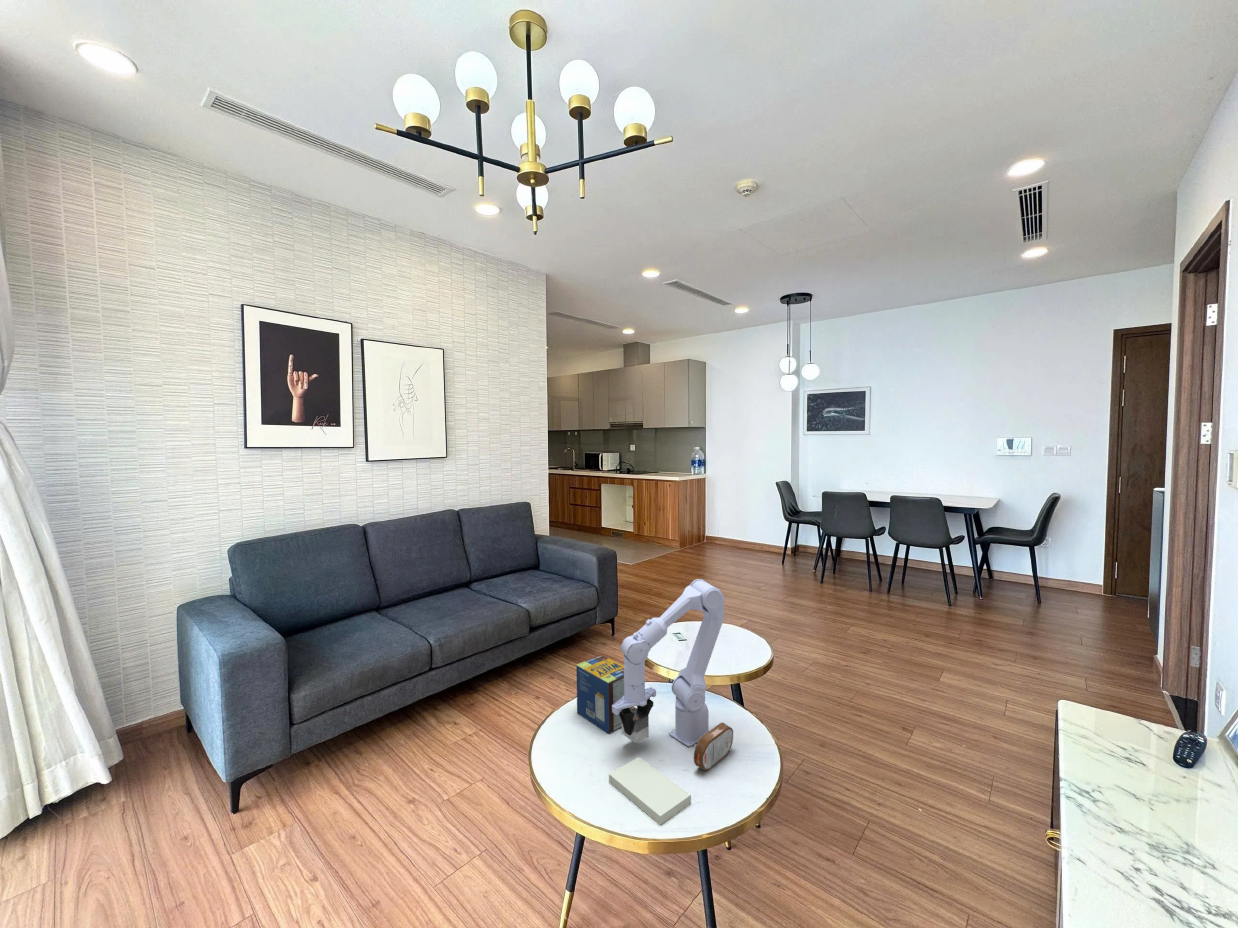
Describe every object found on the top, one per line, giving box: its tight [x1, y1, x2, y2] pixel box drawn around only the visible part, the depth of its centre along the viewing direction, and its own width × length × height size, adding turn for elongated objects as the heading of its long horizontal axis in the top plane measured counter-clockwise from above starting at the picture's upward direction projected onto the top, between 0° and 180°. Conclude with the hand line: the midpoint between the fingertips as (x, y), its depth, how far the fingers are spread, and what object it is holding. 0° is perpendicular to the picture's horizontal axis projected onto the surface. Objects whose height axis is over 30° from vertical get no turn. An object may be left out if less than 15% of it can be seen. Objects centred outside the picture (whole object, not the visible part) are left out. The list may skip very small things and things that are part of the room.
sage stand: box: [608, 756, 692, 825], centre depth 119 cm, size 10×18×2 cm, turn 40°
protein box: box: [576, 654, 632, 735], centre depth 151 cm, size 10×15×16 cm
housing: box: [621, 706, 650, 744], centre depth 136 cm, size 5×6×6 cm
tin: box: [693, 722, 734, 771], centre depth 130 cm, size 15×3×8 cm, turn 135°
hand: (635, 729), depth 136 cm, fingers closed on housing, 5 cm apart
